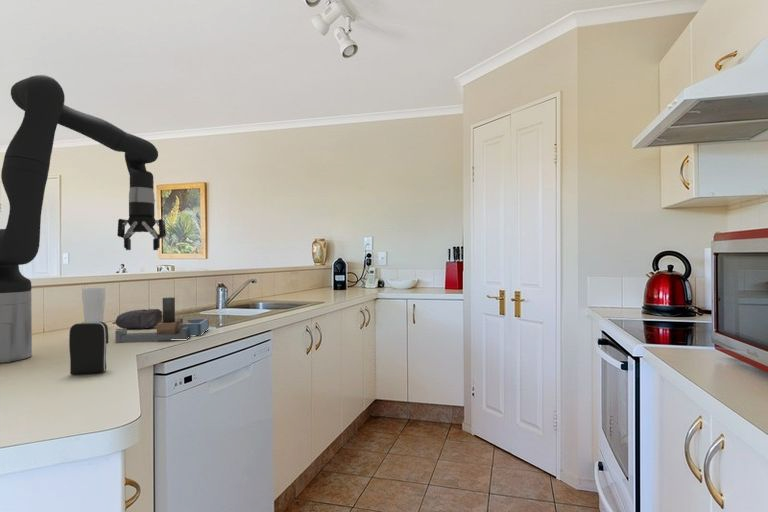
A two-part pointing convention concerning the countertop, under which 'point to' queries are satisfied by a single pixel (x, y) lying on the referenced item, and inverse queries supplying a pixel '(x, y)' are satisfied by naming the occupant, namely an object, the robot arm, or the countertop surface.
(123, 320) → the perforated stone tool
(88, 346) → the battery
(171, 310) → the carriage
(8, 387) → the countertop surface
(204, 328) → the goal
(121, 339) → the rail
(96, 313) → the drinking glass
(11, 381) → the countertop surface
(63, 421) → the countertop surface
